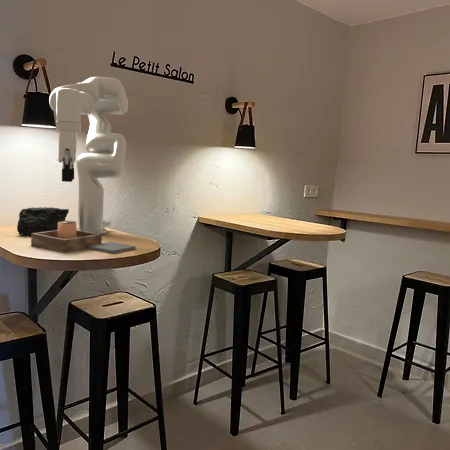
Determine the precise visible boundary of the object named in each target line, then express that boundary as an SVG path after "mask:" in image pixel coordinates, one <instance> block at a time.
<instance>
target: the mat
mask: <svg viewBox="0 0 450 450" xmlns="http://www.w3.org/2000/svg"><path fill="white" fill-rule="evenodd" d="M136 248H137V247H136V245H131V244H127V243H126V244H125V243H121V242H115V241H109V242H108V241H107V242H103V243H102V242H101V244H95V245H90V246H88V248H87V250H92V251H98V252H103V253H106V252H107V254H112V255H113V254H117V253H123V251H124V252H128V251H132V250H136Z"/></svg>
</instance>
